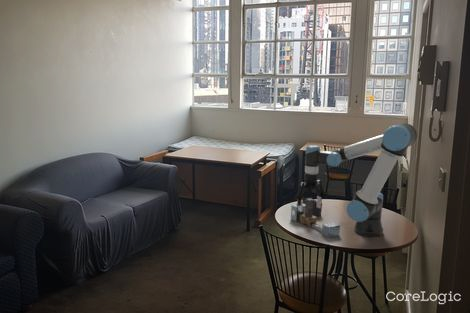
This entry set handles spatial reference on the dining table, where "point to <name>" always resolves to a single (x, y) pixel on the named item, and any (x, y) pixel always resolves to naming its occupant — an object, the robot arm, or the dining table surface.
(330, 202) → the dining table surface
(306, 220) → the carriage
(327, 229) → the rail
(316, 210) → the camera
